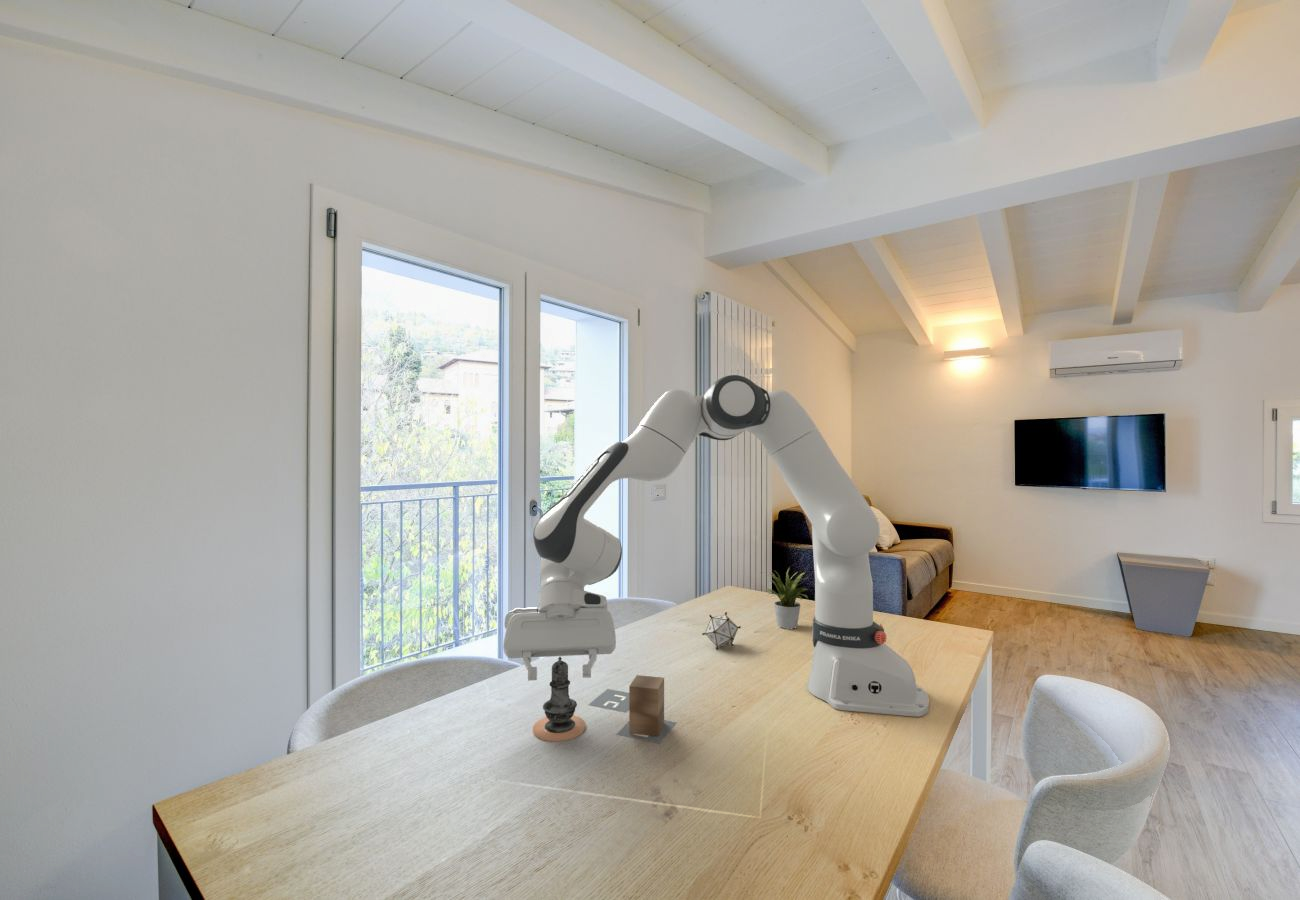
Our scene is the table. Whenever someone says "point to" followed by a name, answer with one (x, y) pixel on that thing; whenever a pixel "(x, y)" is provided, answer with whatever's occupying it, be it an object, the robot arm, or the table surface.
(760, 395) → the robot arm
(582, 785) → the table surface
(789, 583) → the house plant
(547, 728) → the salt shaker
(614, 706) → the grey marker tile
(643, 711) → the walnut block
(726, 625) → the white icosahedron model
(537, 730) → the coaster
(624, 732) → the tile block
